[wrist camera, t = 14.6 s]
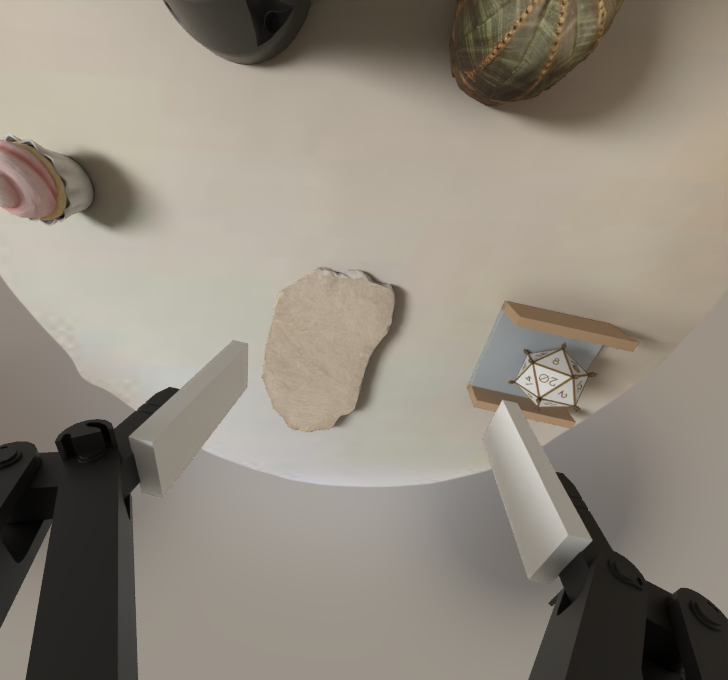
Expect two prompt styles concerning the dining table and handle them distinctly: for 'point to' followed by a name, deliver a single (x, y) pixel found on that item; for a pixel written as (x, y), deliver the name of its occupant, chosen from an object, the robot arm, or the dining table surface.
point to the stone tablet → (324, 345)
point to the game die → (552, 378)
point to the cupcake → (41, 182)
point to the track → (534, 334)
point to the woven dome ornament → (523, 44)
